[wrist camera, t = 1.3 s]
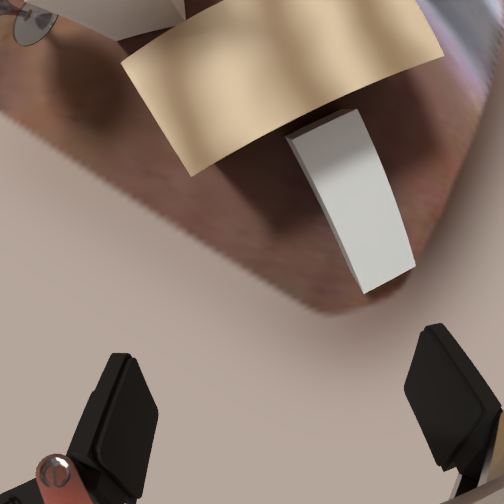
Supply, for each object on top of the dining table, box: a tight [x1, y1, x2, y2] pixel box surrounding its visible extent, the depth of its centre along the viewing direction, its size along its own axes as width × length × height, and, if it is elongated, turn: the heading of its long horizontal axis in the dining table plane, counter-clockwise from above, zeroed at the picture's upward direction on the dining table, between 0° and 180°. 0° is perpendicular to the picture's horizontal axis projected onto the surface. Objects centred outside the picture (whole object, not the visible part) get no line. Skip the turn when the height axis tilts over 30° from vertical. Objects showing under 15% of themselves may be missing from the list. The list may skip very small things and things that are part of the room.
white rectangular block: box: [285, 109, 416, 294], centre depth 28 cm, size 6×16×5 cm, turn 29°
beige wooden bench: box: [121, 0, 444, 177], centre depth 20 cm, size 20×9×10 cm, turn 119°
